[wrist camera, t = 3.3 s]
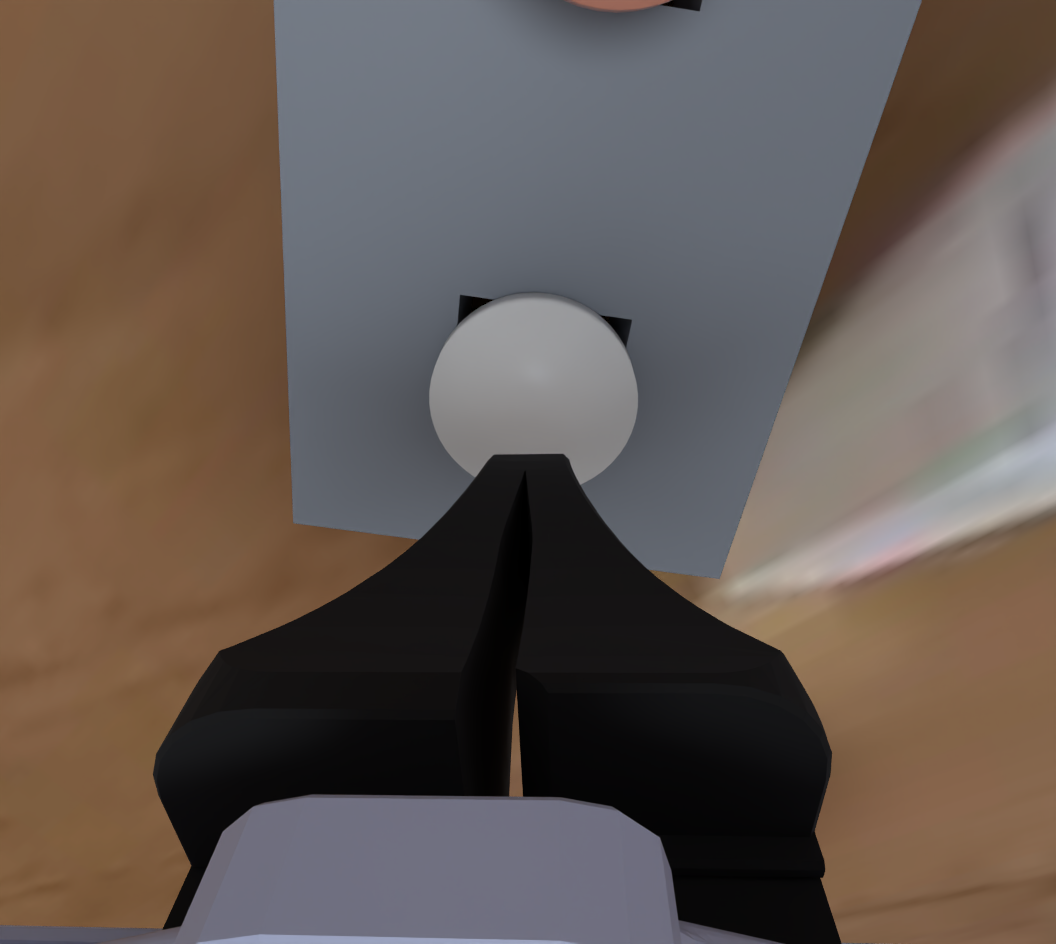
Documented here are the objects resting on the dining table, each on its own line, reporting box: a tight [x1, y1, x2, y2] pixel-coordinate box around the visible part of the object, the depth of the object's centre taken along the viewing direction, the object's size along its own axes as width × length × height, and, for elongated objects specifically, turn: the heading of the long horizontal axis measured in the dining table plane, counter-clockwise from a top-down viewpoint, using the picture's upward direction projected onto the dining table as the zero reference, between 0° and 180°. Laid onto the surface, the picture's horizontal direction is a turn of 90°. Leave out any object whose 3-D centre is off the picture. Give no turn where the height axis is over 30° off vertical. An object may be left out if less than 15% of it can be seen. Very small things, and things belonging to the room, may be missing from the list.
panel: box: [274, 0, 922, 579], centre depth 16 cm, size 12×20×4 cm, turn 172°
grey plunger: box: [429, 292, 638, 485], centre depth 18 cm, size 5×5×4 cm
